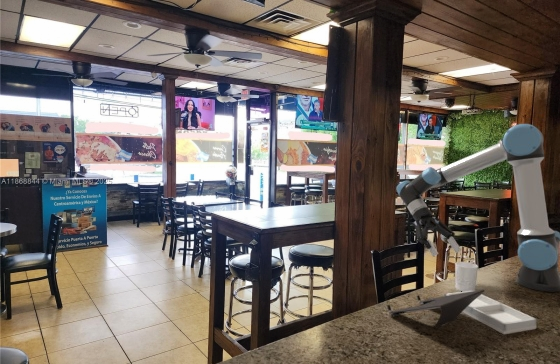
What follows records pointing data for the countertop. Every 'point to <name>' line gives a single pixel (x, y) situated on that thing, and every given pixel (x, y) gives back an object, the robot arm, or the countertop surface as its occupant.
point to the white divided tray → (498, 315)
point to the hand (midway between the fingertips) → (447, 253)
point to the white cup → (465, 276)
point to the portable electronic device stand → (443, 306)
